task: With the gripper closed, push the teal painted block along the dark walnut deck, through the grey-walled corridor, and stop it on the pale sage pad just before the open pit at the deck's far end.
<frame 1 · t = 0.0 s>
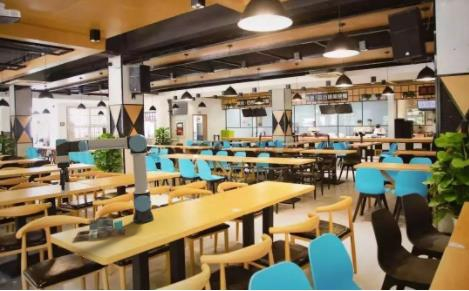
hand: (65, 193, 240), 28 cm above the table, fingers open, 13 cm apart
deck: (102, 235, 235), on the table
teal block: (118, 228, 237), point 3 cm above the table, touching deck
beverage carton: (100, 228, 253), on the table
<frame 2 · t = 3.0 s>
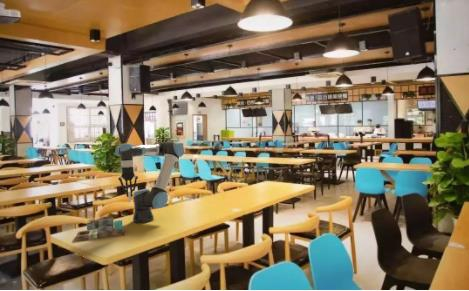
hand: (129, 201, 239), 20 cm above the table, fingers closed
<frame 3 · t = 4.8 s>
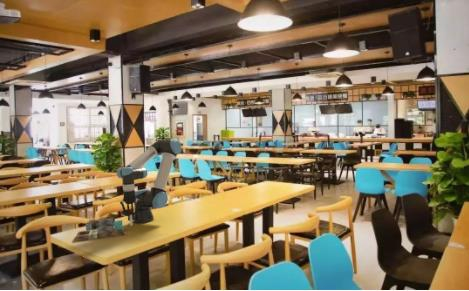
hand: (131, 225, 239), 4 cm above the table, fingers closed
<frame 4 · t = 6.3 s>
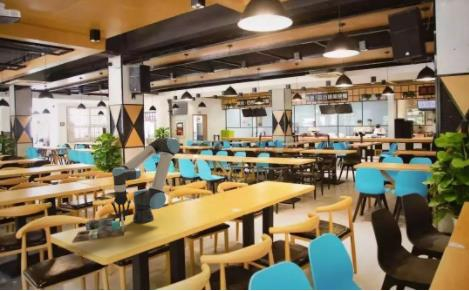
hand: (122, 226, 238), 5 cm above the table, fingers closed
teal block: (116, 229, 237), point 3 cm above the table, touching gripper
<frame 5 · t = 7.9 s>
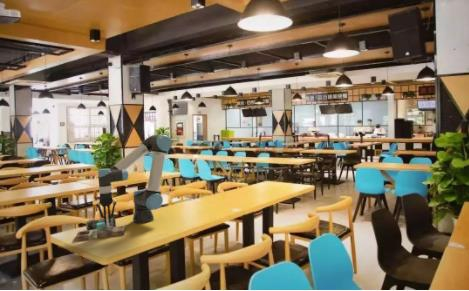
hand: (108, 227, 235), 5 cm above the table, fingers closed
teal block: (101, 231, 234), point 3 cm above the table, touching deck, gripper
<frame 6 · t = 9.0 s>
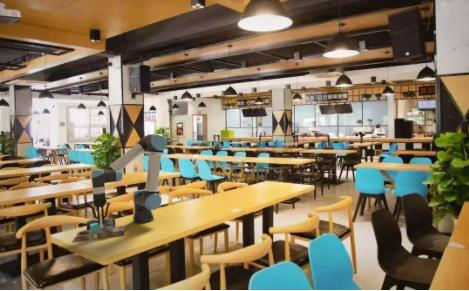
hand: (101, 228, 234), 4 cm above the table, fingers closed
teal block: (95, 231, 233), point 3 cm above the table, touching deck, gripper
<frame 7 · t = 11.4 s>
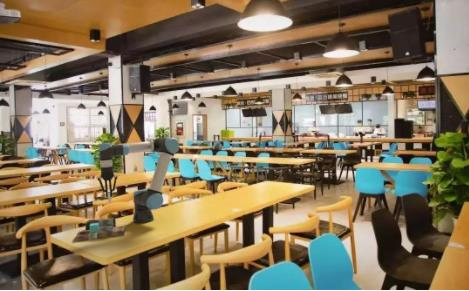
hand: (109, 202, 235), 21 cm above the table, fingers closed
teal block: (94, 231, 233), point 3 cm above the table, touching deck
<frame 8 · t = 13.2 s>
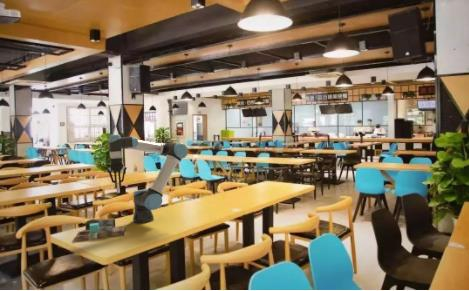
hand: (118, 192, 241), 26 cm above the table, fingers closed
at the end: teal block 0.6 cm from the target spot, point 3.0 cm above the table; teal block tilted 1° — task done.
